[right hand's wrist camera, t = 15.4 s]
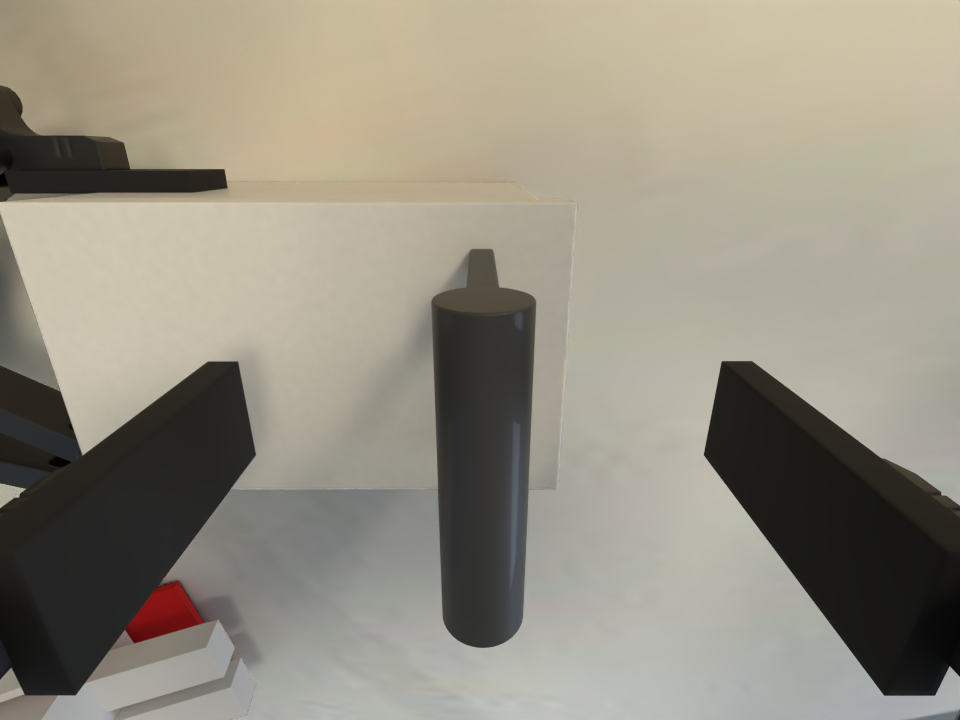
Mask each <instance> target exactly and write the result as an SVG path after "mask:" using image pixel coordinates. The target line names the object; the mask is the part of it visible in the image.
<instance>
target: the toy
mask: <svg viewBox="0 0 960 720" xmlns="http://www.w3.org/2000/svg"><path fill="white" fill-rule="evenodd" d="M234 649H235V647H234V645H233V644H232V642H231V640H230V638H229V637H228V635H227V633H226V632H225V630H224V628H223V626H222V625H221V623H220V621H219V620H218V619H217V620H213V621H210V622H207V623H204V621H203V620H202V618H201V617H200V615H199V614H198V612H197V610H196V609H195V607H194V606H193V604H192V603H191V601H190V600H189V598H188V596H187V595H186V593H185V592H184V590H183V589H182V587H181V585H180V584H179V582H178V581H177V582H174V583H171V584H168V585H165V586H162V587H159V588H156V589H155V591H154V592H153V593H152V595H151V596H150V597H149V599H148V600H147V601H146V603H145V604H144V605H143V607H142V608H141V609H140V611H139V612H138V613H137V615H136V616H135V617H134V619H133V620H132V621H131V623H130V624H129V625H128V627H127V628H126V629H125V631H124V632H123V633H122V635H121V636H120V637H119V639H118V640H117V641H116V643H115V644H114V645H113V647H112V648H111V649H110V651H109V652H108V653H107V655H106V656H105V657H104V659H103V660H102V661H101V663H100V664H99V665H98V667H97V668H96V669H95V671H94V672H93V673H92V675H91V676H90V677H89V679H88V680H87V681H86V683H85V684H84V685H83V687H82V688H81V689H80V691H79V692H78V693H77V695H76V696H25V695H24V693H23V690H22V688H21V686H20V684H19V682H18V680H17V678H16V676H15V674H14V672H13V670H12V668H11V669H10V670H9V671H8V672H7V673H6V674H5V675H4V676H3V677H2V678H1V679H0V720H231V719H235V718H238V717H241V716H244V715H247V714H248V710H249V707H250V704H251V700H252V697H253V694H254V690H255V687H256V683H255V681H254V680H253V678H252V676H251V675H250V673H249V671H248V669H247V668H246V666H245V664H244V662H243V661H242V659H241V658H238V659H235V660H231V657H232V654H233V652H234ZM230 660H231V661H230Z"/></svg>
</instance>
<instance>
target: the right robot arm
mask: <svg viewBox="0 0 960 720" xmlns="http://www.w3.org/2000/svg"><path fill="white" fill-rule="evenodd" d="M255 456H256V452H255V446H254V441H253V436H252V431H251V425H250V420H249V415H248V410H247V405H246V399H245V394H244V389H243V384H242V379H241V373H240V368H239V363H238V361H208V362H206V363H205V364H204V365H202V366H201V367H200V368H198V369H197V370H196V371H194V372H193V373H192V374H190V375H189V376H188V377H186V378H185V379H184V380H182V381H181V382H180V383H178V384H177V385H176V386H174V387H173V388H172V389H170V390H169V391H168V392H166V393H165V394H164V395H162V396H161V397H160V398H158V399H157V400H156V401H154V402H153V403H152V404H150V405H149V406H148V407H146V408H145V409H144V410H142V411H141V412H140V413H138V414H137V415H136V416H134V417H133V418H132V419H130V420H129V421H128V422H126V423H125V424H124V425H122V426H121V427H120V428H118V429H117V430H116V431H114V432H113V433H112V434H110V435H109V436H108V437H107V438H105V439H104V440H103V441H101V442H100V443H99V444H97V445H96V446H95V447H93V448H92V449H91V450H89V451H88V452H87V453H85V454H84V455H83V456H81V457H80V458H79V459H77V460H76V461H74V462H72V463H70V464H68V465H66V466H64V467H62V468H60V469H58V470H56V471H54V472H52V473H49V474H47V475H45V476H44V477H42V478H41V479H40V480H38V481H37V482H36V483H34V484H33V485H31V486H30V487H29V488H27V489H26V490H25V491H23V492H22V493H21V494H20V497H19V498H14V499H12V500H11V501H10V502H8V503H7V504H6V505H4V506H3V507H1V508H0V679H1V678H2V677H3V676H4V675H5V674H6V673H7V672H8V671H9V670H10V669H11V668H12V670H13V672H14V674H15V676H16V678H17V680H18V682H19V684H20V686H21V688H22V690H23V693H24V695H25V696H76V695H77V693H78V692H79V691H80V689H81V688H82V687H83V685H84V684H85V683H86V681H87V680H88V679H89V677H90V676H91V675H92V673H93V672H94V671H95V669H96V668H97V667H98V665H99V664H100V663H101V661H102V660H103V659H104V657H105V656H106V655H107V653H108V652H109V651H110V649H111V648H112V647H113V645H114V644H115V643H116V641H117V640H118V639H119V637H120V636H121V635H122V633H123V632H124V631H125V629H126V628H127V627H128V625H129V624H130V623H131V621H132V620H133V619H134V617H135V616H136V615H137V613H138V612H139V611H140V609H141V608H142V607H143V605H144V604H145V603H146V601H147V600H148V599H149V597H150V596H151V595H152V593H153V592H154V591H155V589H156V588H157V587H158V585H159V584H160V583H161V581H162V580H163V579H164V577H165V576H166V575H167V573H168V572H169V571H170V569H171V568H172V567H173V565H174V564H175V563H176V561H177V560H178V559H179V557H180V556H181V555H182V553H183V552H184V551H185V549H186V548H187V547H188V545H189V544H190V543H191V541H192V540H193V539H194V537H195V536H196V535H197V533H198V532H199V531H200V529H201V528H202V527H203V525H204V524H205V523H206V521H207V520H208V519H209V517H210V516H211V515H212V513H213V512H214V511H215V509H216V508H217V507H218V505H219V504H220V503H221V501H222V500H223V499H224V497H225V496H226V495H227V493H228V492H229V491H230V489H231V488H232V487H233V485H234V484H235V483H236V481H237V480H238V479H239V477H240V476H241V475H242V473H243V472H244V471H245V469H246V468H247V467H248V465H249V464H250V463H251V461H252V460H253V459H254V457H255ZM704 456H705V457H706V459H707V460H708V461H709V463H710V464H711V465H712V467H713V468H714V469H715V471H716V472H717V473H718V475H719V476H720V477H721V479H722V480H723V481H724V483H725V484H726V485H727V487H728V488H729V489H730V491H731V492H732V493H733V495H734V496H735V497H736V499H737V500H738V501H739V503H740V504H741V505H742V507H743V508H744V509H745V511H746V512H747V513H748V515H749V516H750V517H751V519H752V520H753V521H754V523H755V524H756V525H757V527H758V528H759V529H760V531H761V532H762V533H763V535H764V536H765V537H766V539H767V540H768V541H769V543H770V544H771V545H772V547H773V548H774V549H775V551H776V552H777V553H778V555H779V556H780V557H781V559H782V560H783V561H784V563H785V564H786V565H787V567H788V568H789V569H790V571H791V572H792V573H793V575H794V576H795V577H796V579H797V580H798V581H799V583H800V584H801V585H802V587H803V588H804V589H805V591H806V592H807V593H808V595H809V596H810V597H811V599H812V600H813V601H814V603H815V604H816V605H817V607H818V608H819V609H820V611H821V612H822V613H823V615H824V616H825V617H826V619H827V620H828V621H829V623H830V624H831V625H832V627H833V628H834V629H835V631H836V632H837V633H838V635H839V636H840V637H841V639H842V640H843V641H844V643H845V644H846V645H847V647H848V648H849V649H850V651H851V652H852V653H853V655H854V656H855V657H856V659H857V660H858V661H859V663H860V664H861V665H862V667H863V668H864V669H865V671H866V672H867V673H868V674H869V676H870V677H871V678H872V680H873V681H874V682H875V684H876V685H877V686H878V688H879V689H880V690H881V692H882V693H883V694H884V696H935V695H936V693H937V691H938V688H939V686H940V684H941V682H942V680H943V678H944V676H945V674H946V672H947V670H948V668H949V666H950V667H951V668H952V669H953V670H954V671H955V672H956V673H957V674H958V675H959V676H960V506H959V505H958V504H957V503H955V502H954V501H953V500H951V499H950V498H948V497H947V496H942V495H941V492H940V491H939V490H937V489H936V488H935V487H933V486H932V485H931V484H929V483H928V482H926V481H925V480H924V479H922V478H921V477H920V476H918V475H917V474H915V473H913V472H911V471H909V470H907V469H905V468H903V467H901V466H899V465H896V464H894V463H892V462H890V461H888V460H886V459H881V458H880V457H879V456H877V455H876V454H875V453H873V452H872V451H871V450H869V449H868V448H867V447H865V446H864V445H863V444H861V443H860V442H859V441H858V440H856V439H855V438H854V437H852V436H851V435H850V434H848V433H847V432H846V431H844V430H843V429H842V428H840V427H839V426H838V425H836V424H835V423H834V422H832V421H831V420H830V419H828V418H827V417H826V416H824V415H823V414H822V413H820V412H819V411H818V410H816V409H815V408H814V407H812V406H811V405H810V404H808V403H807V402H806V401H804V400H803V399H802V398H800V397H799V396H798V395H796V394H795V393H794V392H792V391H791V390H790V389H788V388H787V387H786V386H784V385H783V384H782V383H780V382H779V381H778V380H776V379H775V378H774V377H772V376H771V375H770V374H768V373H767V372H766V371H764V370H763V369H762V368H760V367H759V366H758V365H756V364H755V363H754V362H752V361H722V363H721V368H720V373H719V379H718V384H717V389H716V394H715V399H714V405H713V410H712V415H711V420H710V426H709V431H708V436H707V441H706V446H705V452H704ZM954 720H960V710H959V712H958V714H957V716H956V718H955V719H954Z"/></svg>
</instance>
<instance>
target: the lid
mask: <svg viewBox="0 0 960 720" xmlns="http://www.w3.org/2000/svg"><path fill="white" fill-rule="evenodd" d="M0 215H1V218H2V221H3V224H4V226H5V229H6V232H7V235H8V238H9V241H10V244H11V247H12V250H13V253H14V256H15V259H16V262H17V265H18V268H19V271H20V273H21V276H22V279H23V282H24V285H25V288H26V291H27V294H28V297H29V300H30V303H31V306H32V309H33V312H34V315H35V317H36V320H37V323H38V326H39V329H40V332H41V335H42V338H43V341H44V344H45V347H46V350H47V353H48V356H49V359H50V362H51V364H52V367H53V370H54V373H55V376H56V379H57V382H58V385H59V388H60V391H61V394H62V397H63V400H64V403H65V406H66V409H67V411H68V414H69V417H70V420H71V423H72V426H73V429H74V432H75V435H76V438H77V441H78V444H79V447H80V450H81V453H82V456H83V455H84V454H85V453H87V452H88V451H89V450H91V449H92V448H93V447H95V446H96V445H97V444H99V443H100V442H101V441H103V440H104V439H105V438H107V437H108V436H109V435H110V434H112V433H113V432H114V431H116V430H117V429H118V428H120V427H121V426H122V425H124V424H125V423H126V422H128V421H129V420H130V419H132V418H133V417H134V416H136V415H137V414H138V413H140V412H141V411H142V410H144V409H145V408H146V407H148V406H149V405H150V404H152V403H153V402H154V401H156V400H157V399H158V398H160V397H161V396H162V395H164V394H165V393H166V392H168V391H169V390H170V389H172V388H173V387H174V386H176V385H177V384H178V383H180V382H181V381H182V380H184V379H185V378H186V377H188V376H189V375H190V374H192V373H193V372H194V371H196V370H197V369H198V368H200V367H201V366H202V365H204V364H205V363H206V362H208V361H238V363H239V368H240V373H241V379H242V384H243V389H244V394H245V399H246V405H247V410H248V415H249V420H250V425H251V431H252V436H253V441H254V446H255V452H256V456H255V457H254V459H253V460H252V461H251V463H250V464H249V465H248V467H247V468H246V469H245V471H244V472H243V473H242V475H241V476H240V477H239V479H238V480H237V481H236V483H235V484H234V485H233V487H232V488H231V489H230V490H438V501H439V529H440V556H441V583H442V610H443V620H444V623H445V626H446V628H447V629H448V631H449V632H450V634H451V635H452V636H453V637H454V638H456V639H457V640H458V641H460V642H462V643H464V644H466V645H469V646H472V647H479V648H487V647H494V646H497V645H500V644H502V643H504V642H506V641H508V640H509V639H510V638H511V637H513V636H514V634H515V633H516V632H517V631H518V629H519V627H520V625H521V623H522V619H523V603H524V580H525V557H526V534H527V511H528V489H557V488H558V478H559V464H560V449H561V435H562V420H563V406H564V391H565V377H566V362H567V348H568V333H569V319H570V304H571V290H572V275H573V261H574V246H575V232H576V217H577V203H576V202H573V201H571V200H569V199H27V200H16V201H5V202H0Z"/></svg>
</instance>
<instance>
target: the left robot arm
mask: <svg viewBox="0 0 960 720" xmlns="http://www.w3.org/2000/svg"><path fill="white" fill-rule="evenodd" d="M21 114H22V103H21V101H20V98H19V97H18V96H17V94H16V93H15V92H14V91H12V90H11V89H10V88H7V87H4V86H0V202H4V201H6V200H7V199H8V198H10V197H11V196H13V195H14V194H15V193H195V192H203V191H211V190H219V189H227V188H228V187H227V181H226V175H225V170H224V169H130V167H129V162H128V158H127V154H126V150H125V146H124V143H123V142H120V141H118V140H115V139H113V138H110V137H96V136H40V135H38V134H36V133H35V132H33V131H32V130H31V129H30V128H28V126H27V125H26V124H25V122H24V121H23V119H22V118H21ZM81 456H82V453H81V450H80V447H79V444H78V441H77V438H76V435H75V432H74V429H73V426H72V423H71V420H70V417H69V414H68V411H67V409H66V406H65V403H64V400H63V397H62V394H61V392H60V391H57V390H55V389H53V388H51V387H48V386H46V385H44V384H41V383H39V382H37V381H34V380H32V379H30V378H27V377H25V376H23V375H21V374H18V373H16V372H14V371H11V370H9V369H7V368H4V367H2V366H0V483H2V484H6V485H11V486H16V487H20V488H25V489H27V488H29V487H30V486H31V485H33V484H34V483H36V482H37V481H38V480H40V479H41V478H42V477H44V476H45V475H47V474H49V473H52V472H54V471H56V470H58V469H60V468H62V467H64V466H66V465H68V464H70V463H72V462H74V461H76V460H77V459H79V458H80V457H81Z"/></svg>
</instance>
